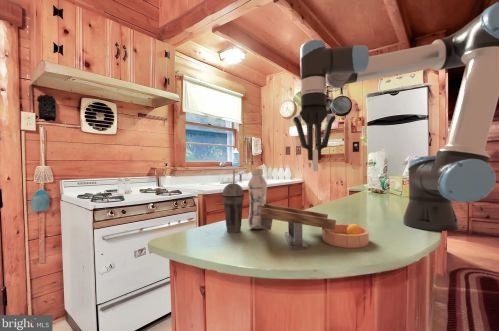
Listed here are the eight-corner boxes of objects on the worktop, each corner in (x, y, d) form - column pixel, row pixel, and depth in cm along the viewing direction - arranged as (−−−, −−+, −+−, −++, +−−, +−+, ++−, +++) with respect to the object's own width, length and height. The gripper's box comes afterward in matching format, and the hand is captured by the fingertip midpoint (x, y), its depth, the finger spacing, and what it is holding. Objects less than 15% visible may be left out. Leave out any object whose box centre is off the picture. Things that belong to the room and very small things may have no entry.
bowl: (357, 234, 77) (357, 223, 77) (377, 247, 65) (376, 235, 65) (317, 234, 77) (317, 224, 77) (330, 248, 65) (329, 235, 65)
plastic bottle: (244, 228, 85) (243, 169, 85) (258, 225, 90) (257, 168, 89) (257, 232, 80) (256, 169, 80) (271, 228, 85) (271, 168, 85)
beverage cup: (219, 232, 81) (217, 170, 80) (227, 227, 88) (226, 169, 87) (240, 234, 79) (239, 170, 78) (247, 228, 86) (246, 169, 85)
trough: (317, 226, 82) (320, 208, 82) (332, 240, 67) (336, 218, 67) (256, 216, 82) (259, 197, 82) (257, 228, 67) (261, 206, 67)
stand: (297, 234, 77) (297, 213, 77) (307, 249, 64) (306, 223, 64) (284, 234, 78) (284, 213, 77) (291, 249, 65) (291, 224, 64)
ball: (359, 235, 73) (357, 221, 73) (365, 239, 69) (364, 225, 69) (345, 236, 73) (344, 223, 73) (350, 241, 69) (349, 226, 69)
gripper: (330, 97, 82) (331, 170, 82) (290, 98, 82) (291, 171, 82) (338, 90, 74) (340, 171, 74) (294, 91, 74) (295, 172, 74)
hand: (314, 171), depth 78 cm, fingers closed
